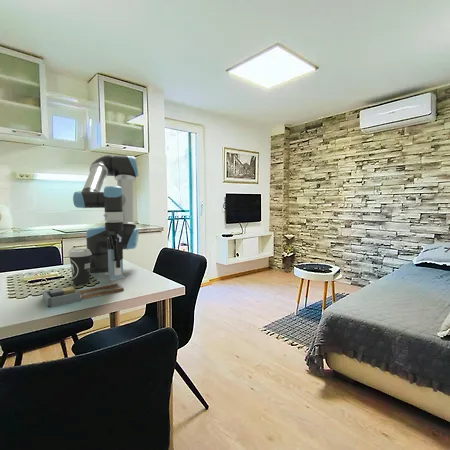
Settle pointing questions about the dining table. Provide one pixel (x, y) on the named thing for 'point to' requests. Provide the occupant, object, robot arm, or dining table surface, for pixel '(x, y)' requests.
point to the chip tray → (60, 298)
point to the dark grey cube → (56, 293)
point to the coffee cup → (80, 265)
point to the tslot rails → (100, 291)
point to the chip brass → (68, 290)
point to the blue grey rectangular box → (111, 266)
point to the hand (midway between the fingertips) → (115, 273)
